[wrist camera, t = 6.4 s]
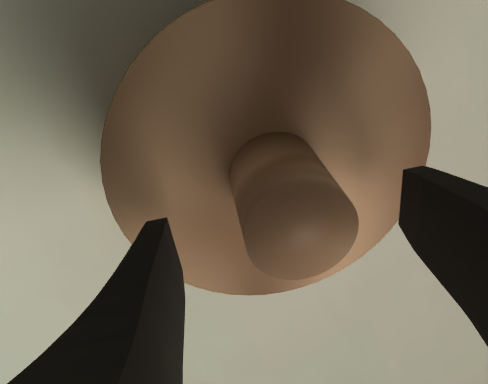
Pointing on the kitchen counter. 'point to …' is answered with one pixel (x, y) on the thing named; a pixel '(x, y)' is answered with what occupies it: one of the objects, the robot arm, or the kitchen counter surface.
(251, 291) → the lid
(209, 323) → the kitchen counter surface
